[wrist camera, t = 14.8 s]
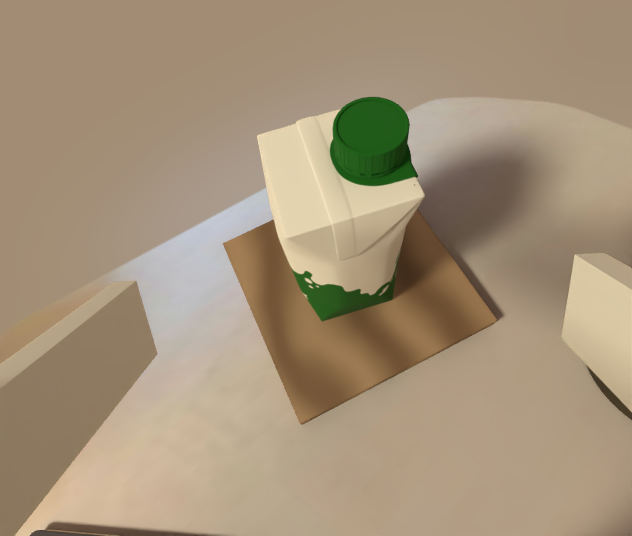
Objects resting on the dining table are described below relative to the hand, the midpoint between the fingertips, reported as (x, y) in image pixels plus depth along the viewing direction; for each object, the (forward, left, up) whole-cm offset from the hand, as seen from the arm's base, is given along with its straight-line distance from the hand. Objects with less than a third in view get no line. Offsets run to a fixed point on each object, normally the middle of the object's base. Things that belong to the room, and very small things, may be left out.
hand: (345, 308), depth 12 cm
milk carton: (-4, -10, -24) cm, 27 cm away
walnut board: (-4, -10, -26) cm, 28 cm away
